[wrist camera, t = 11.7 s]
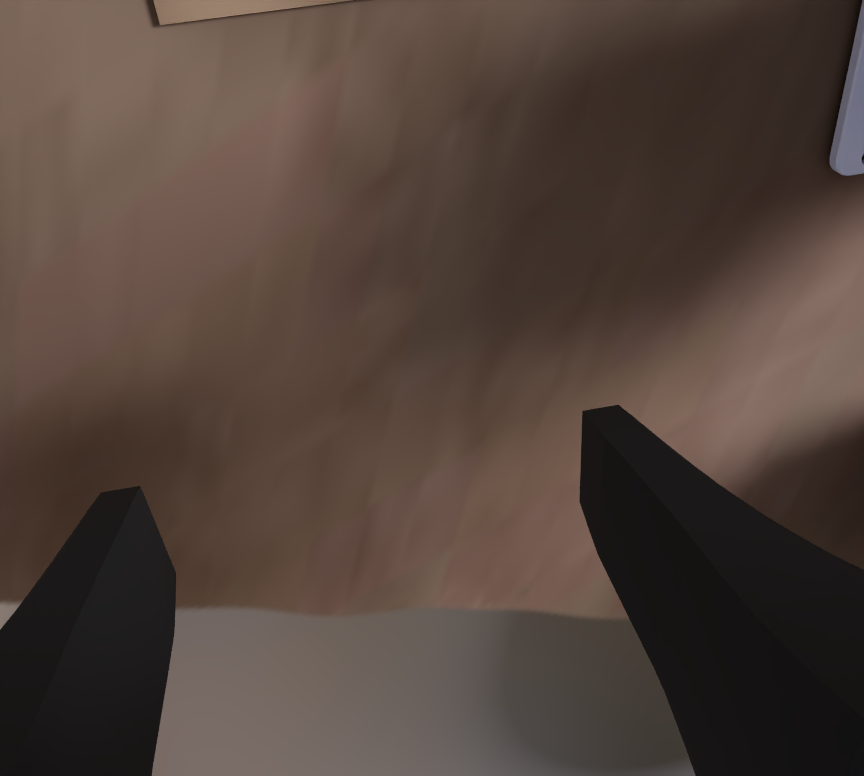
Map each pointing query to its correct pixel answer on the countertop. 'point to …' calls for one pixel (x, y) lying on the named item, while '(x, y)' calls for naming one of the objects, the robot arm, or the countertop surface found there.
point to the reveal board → (222, 8)
